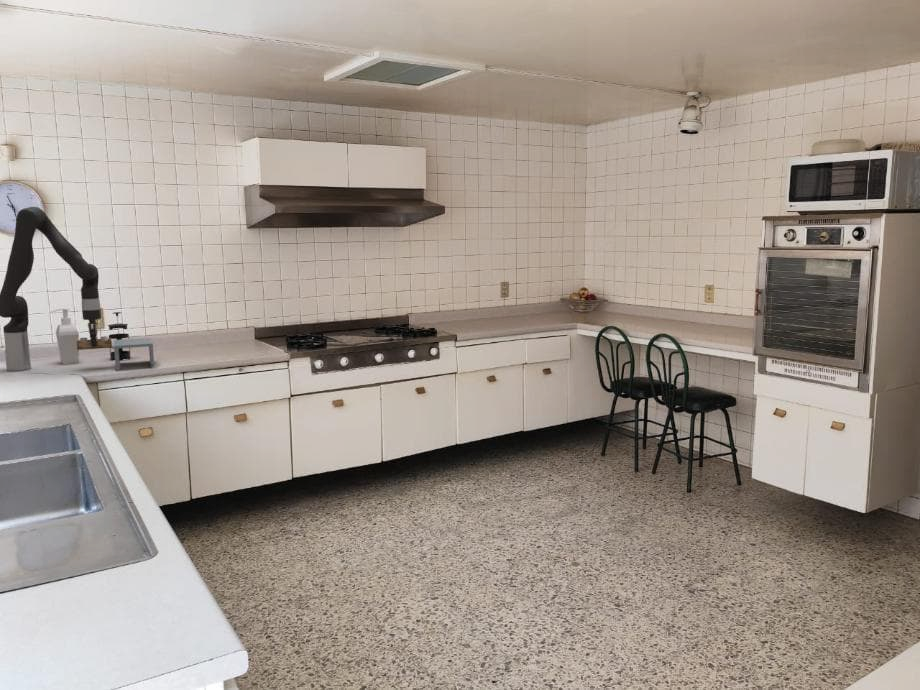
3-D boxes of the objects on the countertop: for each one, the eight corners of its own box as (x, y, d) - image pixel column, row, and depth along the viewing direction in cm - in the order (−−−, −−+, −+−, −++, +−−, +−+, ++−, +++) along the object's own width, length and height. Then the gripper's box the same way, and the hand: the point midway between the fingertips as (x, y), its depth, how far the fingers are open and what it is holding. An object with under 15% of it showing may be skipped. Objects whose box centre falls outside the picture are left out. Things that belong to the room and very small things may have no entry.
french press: (130, 360, 357) (127, 312, 353) (109, 361, 353) (105, 313, 349) (131, 356, 367) (127, 310, 364) (110, 357, 364) (107, 311, 360)
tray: (111, 345, 339) (111, 335, 339) (111, 347, 334) (110, 337, 333) (77, 348, 334) (76, 337, 333) (77, 349, 328) (76, 339, 327)
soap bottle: (54, 361, 353) (49, 308, 349) (77, 359, 359) (73, 307, 355) (57, 365, 343) (52, 310, 339) (81, 363, 349) (76, 309, 344)
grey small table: (115, 370, 330) (113, 346, 328) (116, 363, 348) (114, 340, 346) (154, 367, 336) (152, 343, 335) (152, 360, 354) (150, 337, 352)
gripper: (100, 309, 326) (103, 347, 329) (100, 306, 339) (104, 342, 342) (81, 310, 323) (84, 348, 326) (82, 307, 336) (86, 343, 339)
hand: (94, 345), depth 334 cm, fingers closed on tray, 6 cm apart
